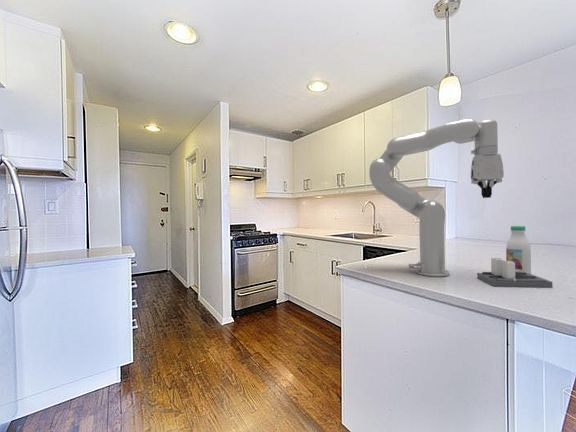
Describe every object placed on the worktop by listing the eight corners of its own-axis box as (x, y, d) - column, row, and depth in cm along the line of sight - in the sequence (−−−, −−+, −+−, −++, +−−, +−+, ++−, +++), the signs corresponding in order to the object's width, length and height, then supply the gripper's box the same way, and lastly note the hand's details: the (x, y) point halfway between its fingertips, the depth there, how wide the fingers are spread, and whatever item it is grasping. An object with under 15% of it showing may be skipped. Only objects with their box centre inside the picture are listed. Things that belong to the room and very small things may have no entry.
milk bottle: (521, 272, 114) (520, 225, 113) (536, 276, 106) (535, 226, 106) (501, 272, 115) (501, 225, 114) (515, 276, 107) (514, 227, 106)
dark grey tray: (493, 286, 96) (493, 279, 96) (477, 277, 107) (477, 271, 107) (552, 287, 92) (552, 279, 92) (529, 278, 104) (529, 271, 104)
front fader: (507, 279, 96) (507, 262, 96) (501, 276, 100) (501, 260, 100) (515, 279, 96) (515, 262, 96) (509, 276, 99) (509, 260, 99)
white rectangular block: (496, 275, 102) (496, 259, 101) (491, 273, 105) (490, 257, 105) (503, 275, 101) (503, 259, 101) (498, 273, 105) (498, 257, 104)
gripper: (469, 151, 106) (470, 198, 107) (512, 149, 103) (513, 196, 104) (461, 155, 114) (462, 198, 114) (501, 152, 111) (502, 197, 111)
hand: (486, 197), depth 109 cm, fingers closed
